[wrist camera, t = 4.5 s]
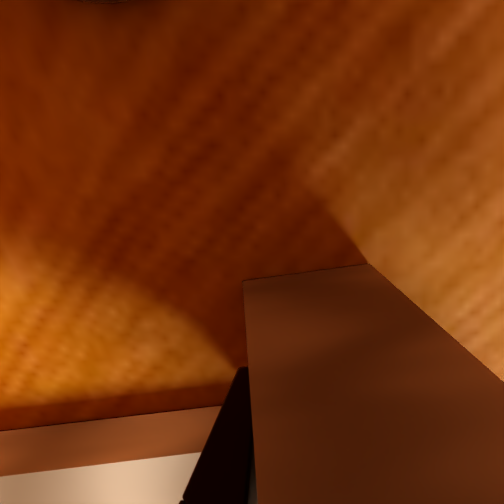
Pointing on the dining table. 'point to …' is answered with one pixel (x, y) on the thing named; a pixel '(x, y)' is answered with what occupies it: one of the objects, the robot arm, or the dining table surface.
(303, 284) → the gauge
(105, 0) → the utensil holder
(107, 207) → the dining table surface
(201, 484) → the robot arm
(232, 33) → the dining table surface
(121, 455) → the board
